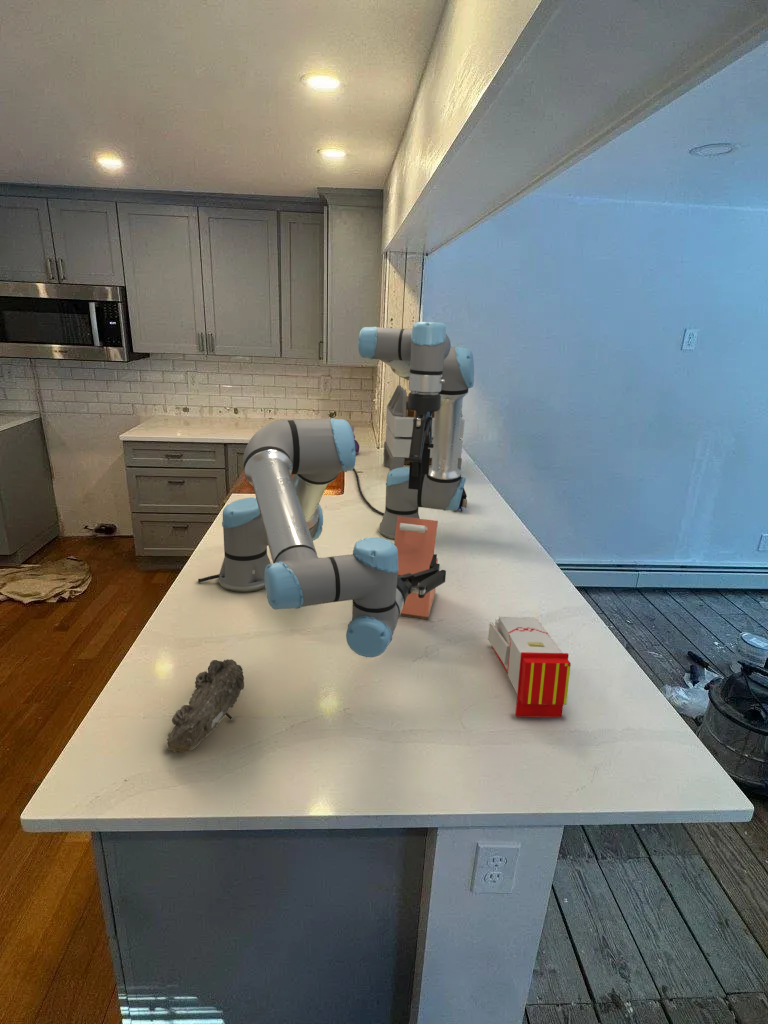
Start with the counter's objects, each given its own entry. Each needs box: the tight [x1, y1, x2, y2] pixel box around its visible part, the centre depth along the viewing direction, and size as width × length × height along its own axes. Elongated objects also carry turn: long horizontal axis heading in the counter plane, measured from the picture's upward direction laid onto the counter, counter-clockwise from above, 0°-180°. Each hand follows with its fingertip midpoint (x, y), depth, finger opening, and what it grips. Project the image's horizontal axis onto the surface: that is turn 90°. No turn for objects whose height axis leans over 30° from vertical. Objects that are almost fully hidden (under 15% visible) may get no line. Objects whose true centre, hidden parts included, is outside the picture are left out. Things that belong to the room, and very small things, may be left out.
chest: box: [399, 557, 439, 621], centre depth 151 cm, size 14×10×11 cm
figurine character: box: [457, 487, 468, 512], centre depth 228 cm, size 7×8×15 cm
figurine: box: [351, 425, 360, 456], centre depth 302 cm, size 9×10×15 cm
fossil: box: [166, 658, 245, 754], centre depth 106 cm, size 22×10×15 cm
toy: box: [487, 616, 572, 718], centre depth 123 cm, size 12×13×30 cm
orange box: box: [393, 516, 439, 575], centre depth 139 cm, size 15×10×8 cm
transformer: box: [383, 384, 465, 472], centre depth 268 cm, size 34×33×41 cm
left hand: (405, 555), depth 128 cm, fingers open, 13 cm apart
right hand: (418, 481), depth 138 cm, fingers open, 13 cm apart
